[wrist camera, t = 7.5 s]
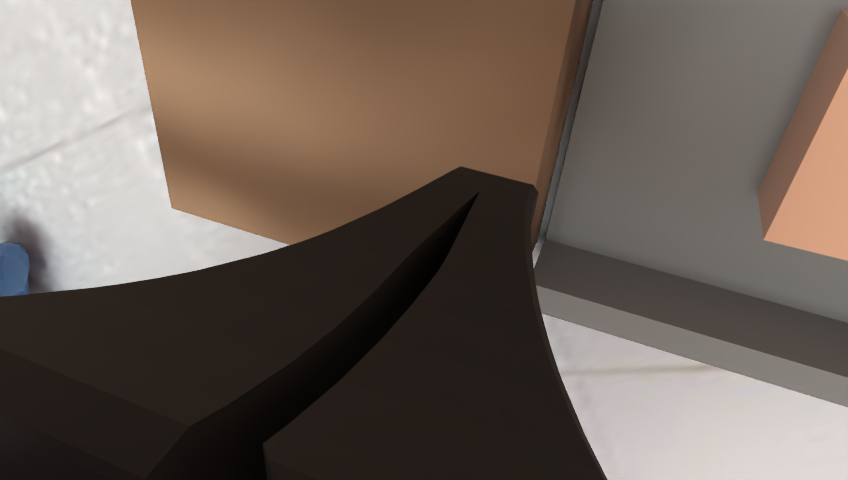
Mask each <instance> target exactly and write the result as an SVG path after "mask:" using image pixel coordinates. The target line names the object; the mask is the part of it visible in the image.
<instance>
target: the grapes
mask: <svg viewBox="0 0 848 480" xmlns="http://www.w3.org/2000/svg"><path fill="white" fill-rule="evenodd" d="M29 270H30V265H29V256H28V253H27V252H26V251H25V250H24V248H23V247H22V246H21V245H20V244H15V243H9V242H4V243H0V297H3V296H17V295H27V294H30V289H29V282H28V275H29Z"/></svg>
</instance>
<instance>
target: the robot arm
mask: <svg viewBox="0 0 848 480" xmlns="http://www.w3.org/2000/svg"><path fill="white" fill-rule="evenodd" d="M538 194H539V193H538V191H537V190H536V188H535V187H534V185H532V184H528V183H524V182H520V181H517V180H513V179H509V178H505V177H501V176H497V175H493V174H489V173H485V172H481V171H477V170H474V169H470V168H466V167H462V166H460V167H458V168H456V169H454V170H452V171H450V172H448V173H446V174H444V175H443V176H441V177H439V178H437V179H435V180H433V181H432V182H430V183H428V184H426V185H424V186H422V187H421V188H419V189H417V190H415V191H413V192H411V193H409V194H407V195H405V196H403V197H401V198H400V199H398V200H396V201H394V202H392V203H390V204H388V205H386V206H384V207H382V208H380V209H378V210H375V211H373V212H371V213H369V214H367V215H364V216H362V217H360V218H358V219H355V220H353V221H351V222H349V223H346V224H344V225H342V226H340V227H337V228H335V229H333V230H331V231H328V232H325V233H323V234H320V235H318V236H315V237H312V238H310V239H307V240H304V241H301V242H298V243H295V244H292V245H289V246H286V247H283V248H280V249H277V250H274V251H271V252H268V253H264V254H261V255H257V256H253V257H249V258H245V259H241V260H237V261H233V262H229V263H225V264H221V265H217V266H213V267H209V268H205V269H201V270H197V271H192V272H187V273H182V274H177V275H172V276H166V277H161V278H156V279H150V280H143V281H137V282H131V283H125V284H118V285H111V286H103V287H96V288H87V289H77V290H67V291H57V292H47V293H37V294H27V295H17V296H3V297H0V480H607V478H606V476H605V474H604V472H603V470H602V468H601V466H600V464H599V462H598V460H597V458H596V456H595V454H594V452H593V450H592V448H591V446H590V444H589V442H588V440H587V438H586V436H585V434H584V432H583V429H582V427H581V425H580V422H579V420H578V417H577V415H576V413H575V410H574V408H573V405H572V403H571V401H570V398H569V396H568V394H567V391H566V389H565V386H564V384H563V382H562V379H561V376H560V374H559V371H558V368H557V365H556V362H555V359H554V356H553V353H552V350H551V347H550V343H549V340H548V336H547V333H546V329H545V326H544V322H543V318H542V313H541V309H540V304H539V300H538V294H537V288H536V282H535V276H534V268H533V258H532V244H531V225H532V221H533V216H534V212H535V207H536V203H537V198H538Z"/></svg>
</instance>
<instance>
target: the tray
mask: <svg viewBox="0 0 848 480" xmlns="http://www.w3.org/2000/svg"><path fill="white" fill-rule="evenodd" d="M841 9H847V10H848V0H603V4H602V8H601V12H600V16H599V20H598V24H597V29H596V33H595V37H594V41H593V45H592V49H591V53H590V57H589V61H588V66H587V70H586V74H585V78H584V82H583V86H582V90H581V94H580V99H579V103H578V107H577V111H576V115H575V119H574V123H573V127H572V132H571V136H570V140H569V144H568V148H567V152H566V156H565V160H564V165H563V169H562V173H561V177H560V181H559V185H558V189H557V193H556V198H555V202H554V206H553V210H552V214H551V218H550V222H549V226H548V231H547V235H546V239H545V242H544V244H543V247H542V249H541V252H540V254H539V257H538V260H537V262H536V265H535V267H534V276H535V282H536V288H537V294H538V300H539V304H540V309H541V313H543V314H546V315H549V316H552V317H556V318H559V319H562V320H565V321H569V322H572V323H575V324H578V325H582V326H585V327H588V328H591V329H595V330H598V331H601V332H604V333H608V334H611V335H614V336H617V337H621V338H624V339H627V340H630V341H634V342H637V343H640V344H643V345H647V346H650V347H653V348H657V349H660V350H663V351H666V352H670V353H673V354H676V355H679V356H683V357H686V358H689V359H692V360H696V361H699V362H702V363H705V364H709V365H712V366H715V367H718V368H722V369H725V370H728V371H731V372H735V373H738V374H741V375H744V376H748V377H751V378H754V379H757V380H761V381H764V382H767V383H770V384H774V385H777V386H780V387H784V388H787V389H790V390H793V391H797V392H800V393H803V394H806V395H810V396H813V397H816V398H819V399H823V400H826V401H829V402H832V403H836V404H839V405H842V406H845V407H848V261H847V260H843V259H839V258H835V257H831V256H826V255H822V254H818V253H814V252H810V251H806V250H802V249H798V248H794V247H790V246H786V245H782V244H778V243H774V242H770V241H766V240H763V232H762V224H761V216H760V209H759V201H758V193H757V192H758V190H759V188H760V186H761V184H762V181H763V179H764V177H765V175H766V173H767V171H768V168H769V166H770V164H771V162H772V160H773V157H774V155H775V153H776V151H777V149H778V146H779V144H780V142H781V140H782V138H783V136H784V133H785V131H786V129H787V127H788V125H789V122H790V120H791V118H792V116H793V114H794V112H795V109H796V107H797V105H798V103H799V101H800V98H801V96H802V94H803V92H804V90H805V88H806V85H807V83H808V81H809V79H810V77H811V74H812V72H813V70H814V68H815V66H816V63H817V61H818V59H819V57H820V55H821V53H822V50H823V48H824V46H825V44H826V42H827V39H828V37H829V35H830V33H831V31H832V29H833V26H834V24H835V22H836V20H837V18H838V15H839V13H840V11H841Z"/></svg>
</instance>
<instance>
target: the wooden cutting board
mask: <svg viewBox="0 0 848 480" xmlns="http://www.w3.org/2000/svg"><path fill="white" fill-rule="evenodd" d="M592 3H593V0H131V4H132V9H133V14H134V20H135V25H136V30H137V35H138V40H139V45H140V50H141V55H142V60H143V65H144V70H145V75H146V80H147V85H148V90H149V95H150V101H151V106H152V111H153V116H154V121H155V126H156V131H157V136H158V141H159V146H160V151H161V156H162V161H163V166H164V171H165V176H166V182H167V187H168V192H169V197H170V202H171V207H172V208H173V209H176V210H180V211H183V212H186V213H189V214H192V215H196V216H199V217H202V218H205V219H208V220H212V221H215V222H218V223H221V224H225V225H228V226H231V227H234V228H237V229H241V230H244V231H247V232H250V233H253V234H257V235H260V236H263V237H266V238H270V239H273V240H276V241H279V242H282V243H286V244H289V245H292V244H295V243H298V242H301V241H304V240H307V239H310V238H312V237H315V236H318V235H320V234H323V233H325V232H328V231H331V230H333V229H335V228H337V227H340V226H342V225H344V224H346V223H349V222H351V221H353V220H355V219H358V218H360V217H362V216H364V215H367V214H369V213H371V212H373V211H375V210H378V209H380V208H382V207H384V206H386V205H388V204H390V203H392V202H394V201H396V200H398V199H400V198H401V197H403V196H405V195H407V194H409V193H411V192H413V191H415V190H417V189H419V188H421V187H422V186H424V185H426V184H428V183H430V182H432V181H433V180H435V179H437V178H439V177H441V176H443V175H444V174H446V173H448V172H450V171H452V170H454V169H456V168H458V167H460V166H462V167H466V168H470V169H474V170H477V171H481V172H485V173H489V174H493V175H497V176H501V177H505V178H509V179H513V180H517V181H520V182H524V183H528V184H532V185H534V187H535V188H536V190H537V191H538V193H539V194H538V198H537V203H536V207H535V212H534V216H533V221H532V225H531V244H532V252H533V250H534V247H535V245H536V242H537V239H538V235H539V230H540V226H541V222H542V217H543V213H544V209H545V205H546V200H547V196H548V192H549V187H550V183H551V179H552V175H553V170H554V166H555V162H556V157H557V153H558V149H559V145H560V140H561V136H562V132H563V127H564V123H565V119H566V114H567V110H568V106H569V102H570V97H571V93H572V89H573V84H574V80H575V76H576V72H577V67H578V63H579V59H580V54H581V50H582V46H583V42H584V37H585V33H586V29H587V24H588V20H589V16H590V11H591V7H592Z"/></svg>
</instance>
